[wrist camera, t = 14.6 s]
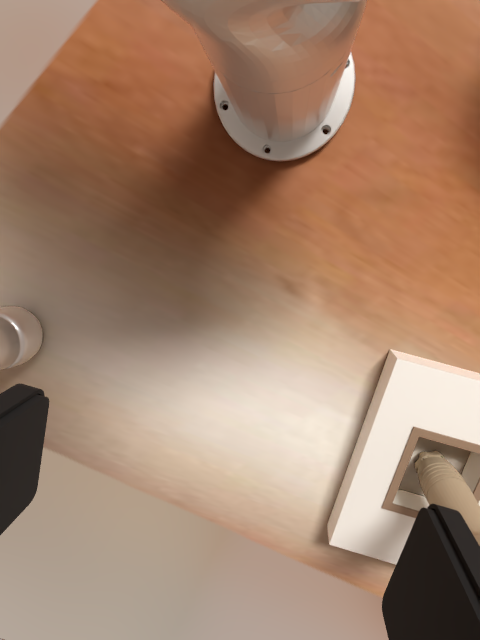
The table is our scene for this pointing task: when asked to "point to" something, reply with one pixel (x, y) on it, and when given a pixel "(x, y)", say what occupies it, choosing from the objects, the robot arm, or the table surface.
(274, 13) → the robot arm
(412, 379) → the socket board
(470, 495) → the handle
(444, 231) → the table surface
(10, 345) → the plastic bottle
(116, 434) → the table surface
